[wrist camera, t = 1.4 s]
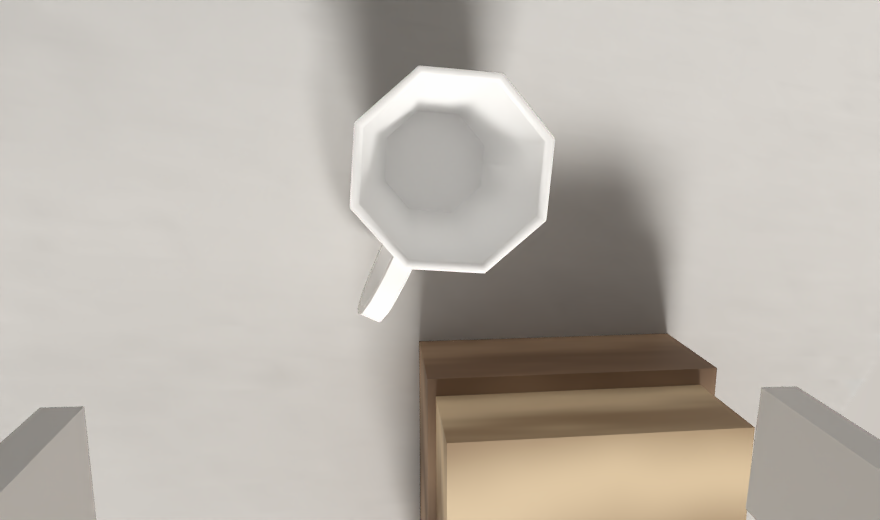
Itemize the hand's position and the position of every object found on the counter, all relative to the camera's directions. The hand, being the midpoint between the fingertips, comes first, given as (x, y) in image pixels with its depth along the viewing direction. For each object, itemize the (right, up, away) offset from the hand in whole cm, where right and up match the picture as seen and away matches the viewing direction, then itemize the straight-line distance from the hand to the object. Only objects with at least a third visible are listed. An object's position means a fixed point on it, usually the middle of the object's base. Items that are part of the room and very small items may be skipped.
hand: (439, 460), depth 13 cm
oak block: (+5, -7, +15) cm, 17 cm away
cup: (-1, +7, +17) cm, 18 cm away
